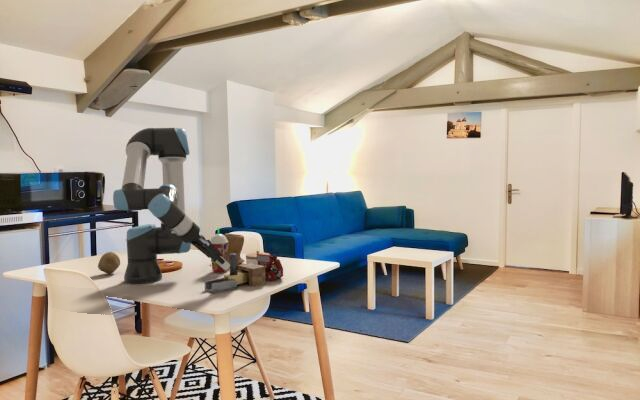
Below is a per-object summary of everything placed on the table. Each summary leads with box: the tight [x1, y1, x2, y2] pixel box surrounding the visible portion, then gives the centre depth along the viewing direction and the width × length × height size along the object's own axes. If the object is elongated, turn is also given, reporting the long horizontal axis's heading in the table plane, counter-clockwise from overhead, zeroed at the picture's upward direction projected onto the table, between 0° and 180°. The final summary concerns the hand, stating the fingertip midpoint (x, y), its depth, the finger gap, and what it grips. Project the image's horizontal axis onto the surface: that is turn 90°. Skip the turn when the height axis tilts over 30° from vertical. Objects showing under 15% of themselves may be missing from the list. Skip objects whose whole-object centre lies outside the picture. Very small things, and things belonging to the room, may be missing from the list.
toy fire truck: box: [257, 254, 284, 282], centre depth 193 cm, size 7×12×10 cm, turn 60°
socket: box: [238, 263, 267, 287], centre depth 187 cm, size 11×6×7 cm, turn 42°
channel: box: [204, 277, 238, 294], centre depth 178 cm, size 7×10×4 cm, turn 132°
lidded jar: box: [245, 250, 271, 265], centre depth 208 cm, size 11×11×9 cm
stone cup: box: [223, 233, 245, 265], centre depth 228 cm, size 15×12×15 cm
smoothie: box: [210, 227, 228, 274], centre depth 210 cm, size 8×8×20 cm
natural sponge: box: [97, 251, 121, 274], centre depth 211 cm, size 9×9×10 cm
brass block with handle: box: [223, 253, 249, 285], centre depth 183 cm, size 4×13×12 cm, turn 131°
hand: (227, 267), depth 179 cm, fingers closed
